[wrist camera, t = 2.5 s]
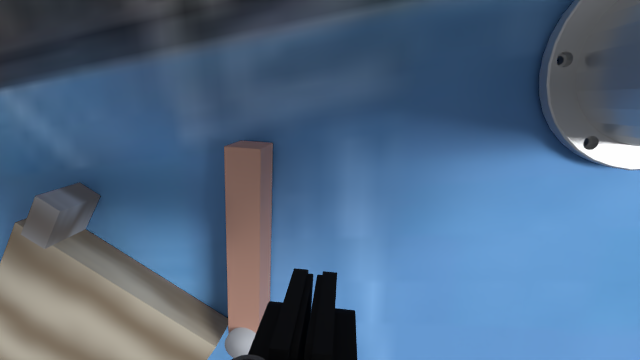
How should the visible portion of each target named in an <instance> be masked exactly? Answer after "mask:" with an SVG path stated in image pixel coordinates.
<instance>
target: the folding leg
mask: <svg viewBox="0 0 640 360" xmlns="http://www.w3.org/2000/svg"><path fill="white" fill-rule="evenodd" d="M224 160H225V203H226V245H227V288H228V330H229V334H228V336H227V338H226V340H225V348H226V351H227V352H228V354H229V355H230V356H232V357H233V358H236V357H238V356H241V355H248V352H249V350H250V347H251V345H252V342H253V340H254V337H255V335H256V332H257V330H258V327H259V324H260V322H261V319H262V317H263V314H264V312H265V309H266V307H267V304H268V302H269V301H270V270H271V217H272V165H273V143H267V142H254V141H238V142H235V143H233V144H230V145H227V146H224Z"/></svg>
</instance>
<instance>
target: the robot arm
mask: <svg viewBox="0 0 640 360" xmlns="http://www.w3.org/2000/svg"><path fill="white" fill-rule="evenodd" d="M557 58H558V59H559V63H558V64H557ZM539 97H540V101H541V106H542V111H543V114H544V116H545V118H546V121H547V123H548V125H549V127H550V129H551V130H552V132H553V133H554V134H555V135H556V137H557V138H558V139H559V141H560V142H561V143H562V144H563V145H565V146H566V147H567V148H568V149H570V150H571V151H572V152H573V153H575V154H577V155H579V156H581V157H583V158H585V159H587V160H589V161H591V162H594V163H598V164H601V165H605V166H608V167H613V168H619V169H625V170H640V0H574V1H573V3H572V4H571V5H570V6H569V8H568V9H567V10H566V11H565V12H564V14H563V15H562V17H561V18H560V20H559V22H558V24H557V25H556V27H555V29H554V30H553V32H552V34H551V36H550V38H549V41H548V44H547V46H546V49H545V52H544V54H543V58H542V63H541V69H540V74H539ZM336 281H337V273H334V272H324V271H323V275H317V280H316V286H315V292H314V298H313V303H312V287H313V274H308V270H305V269H294V271H293V274H292V277H291V280H290V283H289V286H288V289H287V293H286V296H285V299H284V302H283V303H281V302H272V301H269V302H268V304H267V307H266V309H265V312H264V314H263V317H262V319H261V322H260V324H259V327H258V330H257V332H256V335H255V337H254V340H253V342H252V345H251V347H250V350H249V352H248V355H241V356H238V357H236V358H233V359H232V360H357V344H356V320H355V310H346V309H337V308H335V299H336ZM311 303H312V309H311Z"/></svg>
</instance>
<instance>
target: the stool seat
mask: <svg viewBox="0 0 640 360" xmlns="http://www.w3.org/2000/svg"><path fill="white" fill-rule="evenodd" d="M99 198H100V195H98V194H97V193H95V192H94V191H92V190H91V189H89V188H87V187H86V186H84V185H83V184H81V183H76V184H73V185H70V186H66V187H63V188H60V189H56V190H53V191H50V192H46V193H43V194H40V195H36V196H35V198H34V201H33V203H32V206H31V209H30V211H29V214H28V217H27V218H26V219H24V220H21V221H18V222H15V224H14V227H13V230H12V233H11V235H10V238H9V241H8V244H7V246H6V249H5V252H4V255H3V257H2V260H1V263H0V360H207V359H208V357H209V356H210V354H211V353H212V352H213V350H214V349H215V347H216V346H217V344H218V342H219V340H220V339H221V337H222V335H223V333H224V331H225V330H226V328H227V326H228V318H226V317H225V316H223V315H222V314H220V313H218V312H217V311H215V310H214V309H212V308H210V307H209V306H207V305H206V304H204V303H202V302H201V301H199V300H198V299H196V298H194V297H193V296H191V295H190V294H188V293H186V292H185V291H183V290H182V289H180V288H179V287H177V286H175V285H174V284H172V283H171V282H169V281H167V280H166V279H164V278H163V277H161V276H159V275H158V274H156V273H155V272H153V271H151V270H150V269H148V268H147V267H145V266H143V265H142V264H140V263H139V262H137V261H135V260H134V259H132V258H131V257H129V256H127V255H126V254H124V253H123V252H121V251H119V250H118V249H116V248H115V247H113V246H112V245H110V244H108V243H107V242H105V241H104V240H102V239H100V238H99V237H97V236H96V235H94V234H92V233H91V232H89V231H88V230H86V227H87V225H88V223H89V221H90V218H91V216H92V214H93V212H94V210H95V207H96V205H97V203H98V201H99Z"/></svg>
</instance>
